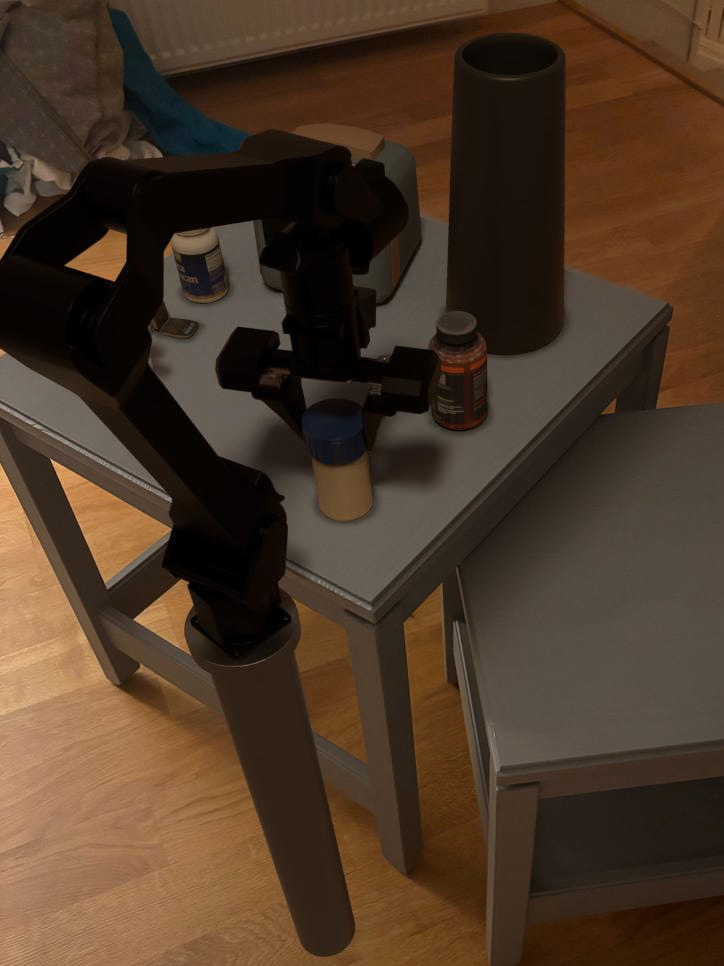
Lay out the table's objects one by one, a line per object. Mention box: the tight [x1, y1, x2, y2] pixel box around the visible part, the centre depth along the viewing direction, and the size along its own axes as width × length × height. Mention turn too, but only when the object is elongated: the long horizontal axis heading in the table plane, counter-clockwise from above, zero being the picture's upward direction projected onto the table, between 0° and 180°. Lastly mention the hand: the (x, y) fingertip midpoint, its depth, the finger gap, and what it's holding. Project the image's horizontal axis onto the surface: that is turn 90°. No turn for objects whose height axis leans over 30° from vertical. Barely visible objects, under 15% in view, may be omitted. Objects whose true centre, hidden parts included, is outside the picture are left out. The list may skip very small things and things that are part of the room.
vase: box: [445, 31, 567, 356], centre depth 110 cm, size 14×14×29 cm
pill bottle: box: [170, 227, 229, 304], centre depth 121 cm, size 5×5×10 cm
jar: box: [310, 451, 373, 522], centre depth 98 cm, size 5×5×10 cm
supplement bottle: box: [427, 311, 489, 431], centre depth 106 cm, size 6×6×11 cm
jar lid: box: [301, 397, 367, 464], centre depth 95 cm, size 6×6×3 cm
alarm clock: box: [252, 123, 422, 304], centre depth 122 cm, size 16×16×16 cm
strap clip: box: [150, 299, 200, 339], centre depth 118 cm, size 8×3×4 cm, turn 75°
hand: (339, 444), depth 96 cm, fingers closed on jar lid, 6 cm apart
